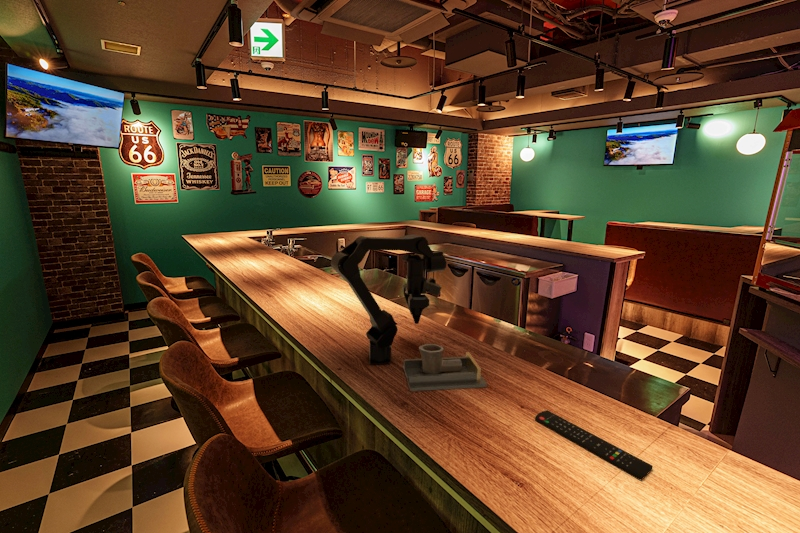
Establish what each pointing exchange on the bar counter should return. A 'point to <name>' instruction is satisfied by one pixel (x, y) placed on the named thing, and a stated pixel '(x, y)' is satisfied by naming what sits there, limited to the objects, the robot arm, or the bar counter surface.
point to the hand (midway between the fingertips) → (414, 318)
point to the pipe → (437, 360)
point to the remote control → (595, 444)
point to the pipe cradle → (444, 375)
